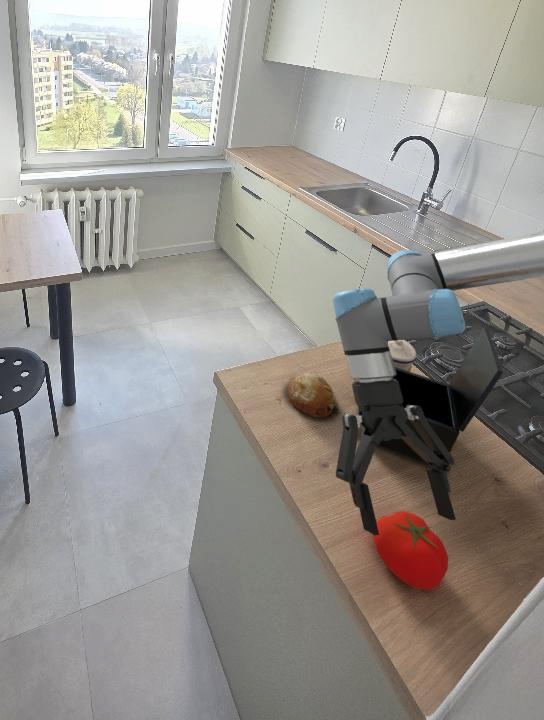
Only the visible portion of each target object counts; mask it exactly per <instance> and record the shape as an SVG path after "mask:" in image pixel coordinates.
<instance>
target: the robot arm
mask: <svg viewBox="0 0 544 720" xmlns="http://www.w3.org/2000/svg"><path fill="white" fill-rule="evenodd" d="M386 266H387V267H386V268H387V280H388V282H389V286H390V289H391V290H390V291H391V296H384V297H378V296H377V295H376V293H375V291H374V289H372V288H357V289H350V290H343V291H339V292H337V293H335V294H334V295H333V298H332V303H333V309H334V315H335V318H334V319H335V321H336V325H337V329H338V332H339V337H340V341H341V345H342V350H343V354H344V358H345V363H346V366H347V370H348V374H349V375H348V376H349V378H350V379H351V380H354V381H353V382H352V384H351V389H352V393H353V397H354V401H355V404H356V406H357V409H358V413H357V414H350V413H342V415H341V420H342V428H343V429H342V434H341V440H340V446H339V451H338V458H337V464H336V469H335V476H336V478H338V479H339V480H341V481H343V482H345V483H348V484H349V489H350V492H351V497H352V501H353V504H354V506H355V507H356V508H358V509H359V513H360V518H361V522H362V528H363V530H364V531H366V532H368V533H369V534H372V535H373V536H374V535H379V532H378V527H377V518H376V514H375V511H374V506H373V501H372V497H371V492H370V489H369V485H368V484H367V483H365V482H364V480H365V476H366V474H367V471H368V469H369V467H370V464H371V461H372V459H373V456H374V454H375V451H376V448H377V447H378V446H380V445H379V444H380V441H389V440H391V439H401V438H402V439H403V440H404V441H405V442H406V443H407V444H408V445H409V446H410V447H411V448H412V449H413V450H414V451H415V452H416V453H417V454H418V455H419V456H420V457H421V458H422V459H423V460H424V461H425V462H426V463H427V464H428V465H427V464H426V465H427V466H429V467H431V468H425V469H426V471H425V472H426V474H427V477H428V478H427V479H428V481H429V485H430V489H431V493H432V496H433V500H434V503H435V507H436V511H437V514H438V516H439V517H442V518H445V519H447V520H449V521H456V515H455V511H454V508H453V505H452V500H451V497H450V493H451V492H452V491H451V485H450V481H449V479H448V474H447V473H449V472H450V471H451V466H453V465H454V464H455V459H454V457H453V455H452V454H451V452H450V453H449V451H448V450H447V449H446V447H445V446H444V444H443V443H442V442H441V440H440V439H439V437H438V436H437V435H436V433H435V432H434V430H433V429H432V428H431V426H430V425H429V423H428V422H427V421H426V419H425V416H424V413H423V411H422V408H421V407H420V406H414V405H407V406H406V408H404V407H403V405H402V402H403V397H402V393H401V389H400V385H399V382H398V381H397V380H396V379H394V376H396V374H397V373H396V370H395V366H394V363H393V359H392V356H391V352H387V351H390V349H389V346H388V341H398V340H405V341H407V340H415V339H416V340H417V339H419V340H420V339H433V338H437V339H440V338H443V337H446V336H453V335H461V334H463V333H464V332H465V330H466V321H465V318H464V315H463V311H462V308H461V305H460V302H459V299H458V297H457V295H456V293H455V291H459V290H460V291H461V290H466V289H472V288H479V287H486V286H490V285H497V284H498V285H499V284H504V283H511V282H517V281H524V280H530V279H536V278H542V277H544V230H543V231H542V230H541V231H538V232H533V233H528V234H522V235H519V236H512V237H508V238H503V239H498V240H494V241H493V240H492V241H488V242H482V243H479V244H473V245H468V246H464V247H458V248H454V249H449V250H443V251H437V252H435V253H434V252H433V253H428V254H422V253H420V252H419V251H416V250H412V249H403V250H398V251H397V252H395V253H393V254H392V255H391V256H390V257H389V259H388V261H387V265H386ZM407 418H408V419H409V420H410V421H411V422H412V424H413V426H414V427H415V428H416V430H417V431H418V433H419V434H420V435H421V437H422V438H423V440H424V441H425V443H426V444H427V445H428V447H429V448H430V449H429V448H428V447H427V446H426V445H425V444H424V443H423V442H422V441H421V440H420V439H419V438H418V437H417V436H416V435H415V433H414V432H413V431H412V430H411V429H410V428H409V427H408V426H407V425H406V422H407ZM362 425H363V426H364V429H363V431H362V434H361V433H360V440H359V441H360V442H359V443H358V438H359V429H361V426H362ZM371 435H372V436H371ZM357 445H358V446H357ZM450 465H451V466H450Z"/></svg>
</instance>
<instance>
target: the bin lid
mask: <svg viewBox="0 0 544 720" xmlns="http://www.w3.org/2000/svg"><path fill="white" fill-rule="evenodd" d="M503 374H504V369H503V366H502V364H501V361H500V358H499V355H498V352H497V349H496V346H495V343H494V341H493V337H492V334H491V332H490V328H489V327H486V326H483V327H482V329H481V331H480V332H479V334H478V335H477V337H476V339H475V341H474V342H473V344H472V345H471V347H470V348H469V350H468V352H467V354H466V355H465V357H464V359H463V360H462V362H461V363H460V365H459V366H458V369H457V370H456V372H455V373H454V375H453V377H452V378H451V380H450V382H449V385H450V387H451V392H452V398H453V403H454V409H455V414H456V420H457V425H458V430H459V432H464V431H465V430H466V429H467V427H468V425H469V424H470V422H471V421H472V419H473V418H474V416H475V415H476V413H477V412H478V410H479V409H480V407H481V406H482V405H483V403H484V401H485V400H486V399H487V397H488V396H489V394H490V393H491V392H492V390H493V389H494V387H495V385H496V384H497V382H498V381H499V380H500V379H501V377H502V375H503Z"/></svg>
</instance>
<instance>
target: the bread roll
mask: <svg viewBox="0 0 544 720" xmlns="http://www.w3.org/2000/svg"><path fill="white" fill-rule="evenodd" d="M287 397H288V400H289V401H290V403H291V404H292V406H294V407H296V408H297V409H298V410H300V411H302V412H303V413H305V414H307V415H309V416H311V417H314V418H325V417H328V416H329V415H331V414H332V413H334V412H336V409H335V406H337V405H338V400H337V399H336V397H335V394H334V390H333V389H332V387H331V386H330V384H329V382H328V381H327V380H326V379H325V378H324V377H323V376H322V375H320V374H317V373H313V372H312V373H311V372H310V373H309V372H305V373H302V374H300V375H298V376H296V377H294V378H293V379H292V380H291V381H290V383H289V384H288V387H287Z"/></svg>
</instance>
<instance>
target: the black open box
mask: <svg viewBox="0 0 544 720" xmlns="http://www.w3.org/2000/svg"><path fill="white" fill-rule="evenodd" d="M395 370H396V373H397V374H396V376H394V379H396V380H397V381H398V382H399V385H400V389H401V393H402V397H403V402H402V405H403V407H404V408H406V406H407V405H414V406H420V407H421V408H422V411H423V413H424V416H425V419H426V421H427V422H428V423H429V425H430V426H431V428H432V429H433V430H434V432H435V433H436V435H437V436H438V437H439V439H440V440H441V442H442V443H443V444H444V446H445V447H446V449H447V450H448V451H449V453H450V454H451V451H452V450H453V448H454V445H455V443H456V442H457V439H458V437H459V435H460V434H461V433H460V432H461V431H460V430H458V425H457V420H456V414H455V409H454V403H453V398H452V392H451V387H450V384H448V383H445V382H442V381H439V380H435V379H433V378H429V377H428V376H427V377H426V376H425V375H422V374H421V375H420V374H418V373H415V372H411V371H410V372H409V371H406V370H403V369H400V368H397V367H395ZM406 425H407V426H408V427H409V428H410V429H411V430H412V431H413V432H414V433H415V435H416V436H417V437H418V438H419V439H420V440H421V441H422V442H423V443H424V444H425V445H426V446H427V447H428V445H427V444H426V443H425V441H424V440H423V438H422V437H421V435H420V434H419V433H418V431H417V430H416V428H415V427H414V426H413V424H412V422H411V421H410V420H409V419H408V418H407V422H406ZM363 429H364V426H363V425H362V424H361V425H360V435H361V434H362V431H363ZM371 436H372V435H371ZM378 446H379V447H382V448H384V449H387V450H389V451H392V452H395V453H397V454H399V455H402V456H405V457H407V458H410V459H412V460H415V461H417V462H419V463H422V464H424V465H427V466H429V465H428V464H427V463H426V462H425V461H424V460H423V459H422V458H421V457H420V456H419V455H418V454H417V453H416V452H415V451H414V450H413V449H412V448H411V447H410V446H409V445H408V444H407V443H406V442H405V441H404V440H403V439H402V438H401V439H391V440H389V441H380V444H379V445H378ZM428 448H429V447H428ZM429 449H430V448H429Z"/></svg>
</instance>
